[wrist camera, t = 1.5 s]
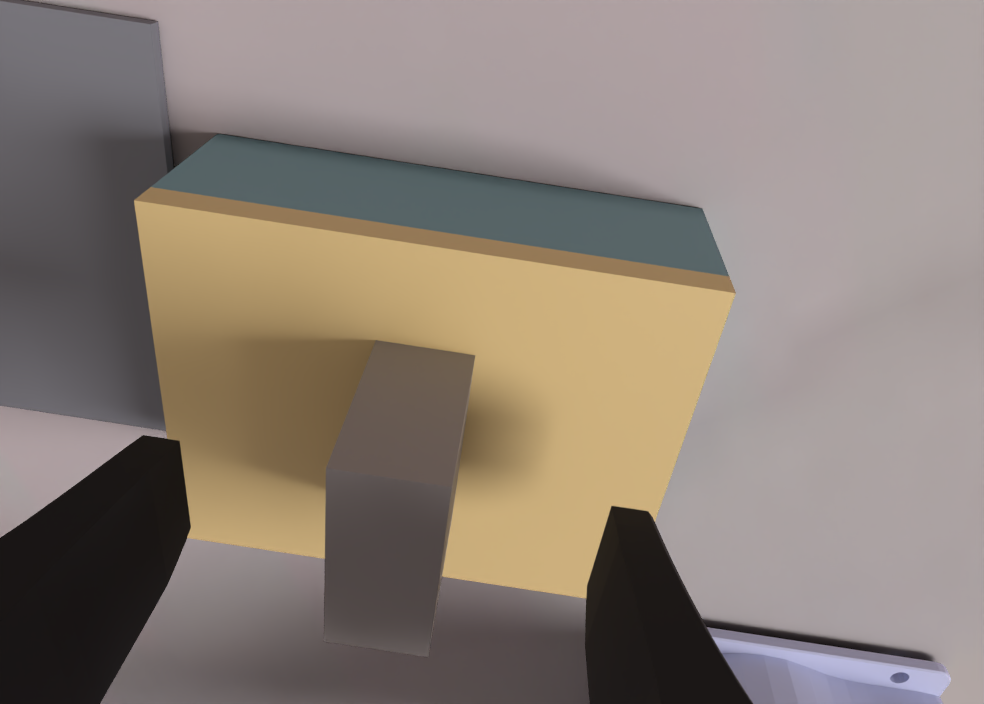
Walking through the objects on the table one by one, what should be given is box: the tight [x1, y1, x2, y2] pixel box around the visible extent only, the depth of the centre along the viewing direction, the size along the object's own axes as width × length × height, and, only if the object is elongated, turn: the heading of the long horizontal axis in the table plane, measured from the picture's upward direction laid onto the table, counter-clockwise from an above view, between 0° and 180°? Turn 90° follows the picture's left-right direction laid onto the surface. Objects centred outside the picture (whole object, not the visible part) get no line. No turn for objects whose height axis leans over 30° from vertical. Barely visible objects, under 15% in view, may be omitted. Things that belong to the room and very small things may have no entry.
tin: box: [151, 134, 729, 276], centre depth 16 cm, size 10×8×3 cm
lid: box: [134, 187, 736, 657], centre depth 13 cm, size 10×8×4 cm
